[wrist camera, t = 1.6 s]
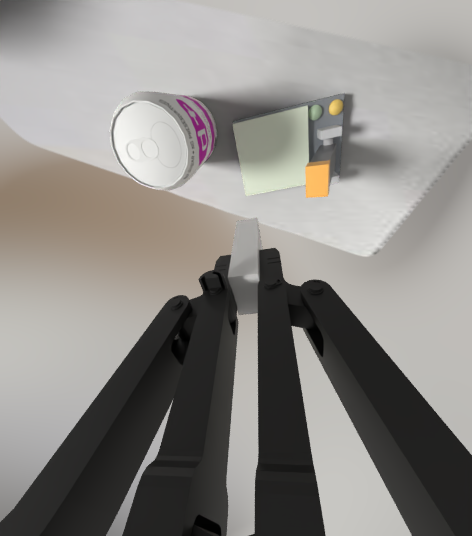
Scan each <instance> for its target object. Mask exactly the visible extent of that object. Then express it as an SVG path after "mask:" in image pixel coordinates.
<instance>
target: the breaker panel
mask: <svg viewBox="0 0 472 536" xmlns="http://www.w3.org/2000/svg"><path fill="white" fill-rule="evenodd" d="M343 110H344V94H338V95H334V96H330V97H327V98H323V99H319V100H315V101H311V102H307V103H303V104H299V105H295V106H291V107H287V108H283V109H279V110H275V111H272V112H268V113H264V114H260V115H256V116H252V117H248V118H244V119H240V120H236V121H233V124H232V125H233V131H234V136H235V141H236V147H237V152H238V157H239V163H240V168H241V173H242V179H243V184H244V189H245V195H246V196H249V195H255V194H260V193H265V192H270V191H276V190H281V189H286V188H291V187H297V186H302V185H306V175H305V166H306V165H307V163H310V161H311V159H312V158H313V156H314V155H315V153H316V151H317V150H318V148H319V146H320V145H323V140H324V139H329V138H333V143H336V162H335V170H334V173H333V176H332V180H331V183H330V185H331V184H337V183H339V178H340V161H341V144H342V127H343Z"/></svg>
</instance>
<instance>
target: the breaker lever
mask: <svg viewBox="0 0 472 536" xmlns="http://www.w3.org/2000/svg"><path fill="white" fill-rule="evenodd" d="M335 162H336V143H333V138H329V139H324V140H323V145H320V146H319V148H318V150H317V151H316V153H315V155H314V156H313V158H312V159H311V161H310V163H307V165H306V166H305V175H306V198H308V197H325V196H328V194H329V186H330V183H331V180H332V176H333V173H334V170H335Z"/></svg>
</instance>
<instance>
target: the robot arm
mask: <svg viewBox="0 0 472 536" xmlns="http://www.w3.org/2000/svg"><path fill="white" fill-rule="evenodd" d="M199 282H200V284H201V287H202V289H203V295H201V296H199V297H197V298H194V299H191V300H189V299H188V298H187V296H183V295H179V296H176V297H173V298H171V299H170V300H169V301H168V302H167V303H166V304H165V305H164V307H163V308H162V309H161V310H160V312H159V313H158V315H157V316H156V317H155V319H154V320H153V321H152V323H151V324H150V325H149V327H148V328H147V329H146V331H145V332H144V334H143V335H142V336H141V337H140V339H139V341H138V342H137V343H136V344H135V346H134V347H133V348H132V350H131V351H130V352H129V354H128V355H127V356H126V358H125V359H124V361H123V362H122V363H121V365H120V366H119V367H118V369H117V370H116V371H115V373H114V374H113V375H112V377H111V378H110V379H109V381H108V382H107V383H106V385H105V386H104V388H103V389H102V390H101V392H100V393H99V394H98V396H97V397H96V398H95V400H94V401H93V402H92V404H91V405H90V406H89V408H88V409H87V410H86V412H85V413H84V415H83V416H82V417H81V419H80V420H79V421H78V423H77V424H76V425H75V427H74V428H73V430H72V431H71V432H70V433H69V435H68V436H67V438H66V439H65V440H64V442H63V443H62V444H61V446H60V447H59V448H58V450H57V451H56V452H55V454H54V455H53V456H52V458H51V459H50V460H49V462H48V463H47V465H46V466H45V467H44V469H43V470H42V471H41V473H40V474H39V475H38V477H37V478H36V479H35V481H34V482H33V484H32V485H31V486H30V488H29V489H28V490H27V492H26V493H25V494H24V496H23V497H22V498H21V500H20V501H19V502H18V504H17V505H16V506H15V508H14V509H13V510H12V511H11V512H10V513H9V514H8V515H7V516H6V517H5V518H4V519H3V520H2V521H1V522H0V536H106V534H107V532H108V530H109V528H110V527H111V525H112V523H113V521H114V519H115V516H116V515H117V513H118V511H119V509H120V507H121V504H122V503H123V501H124V499H125V497H126V495H127V493H128V491H129V488H130V486H131V484H132V482H133V480H134V478H135V476H136V474H137V472H138V470H139V468H140V466H141V464H142V462H143V460H144V458H145V456H146V454H147V452H148V450H149V448H150V445H151V443H152V441H153V439H154V437H155V435H156V433H157V431H158V429H159V427H160V425H161V423H162V420H163V419H164V417H165V415H166V413H167V411H168V409H169V407H170V405H171V402H172V400H173V403H172V407H171V410H170V413H169V417H168V421H167V424H166V428H165V432H164V435H163V439H162V442H161V446H160V449H159V452H158V455H157V457H156V459H155V460H154V461H153V462H152V463H151V464H149V465H148V466H147V467H146V469H145V471H144V472H143V474H142V476H141V479H140V482H139V484H138V487H137V490H136V493H135V497H134V500H133V503H132V507H131V510H130V513H129V516H128V519H127V522H126V526H125V529H124V532H123V535H122V536H226V532H227V517H228V495H227V488H226V475H227V462H228V448H229V436H230V424H231V410H232V398H233V397H232V396H233V385H234V372H235V359H236V346H237V333H238V319H237V310H238V314H239V315H243V314H253V313H258V437H259V438H258V439H259V454H258V455H259V456H258V457H259V458H258V465H257V470H256V478H255V534H253V535H249V536H325V530H324V524H323V518H322V511H321V505H320V499H319V493H318V487H317V481H316V475H315V470H314V466H313V460H312V454H311V447H310V442H309V435H308V429H307V422H306V416H305V409H304V403H303V397H302V390H301V384H300V378H299V372H298V365H297V359H296V353H295V347H294V340H293V334H292V327H291V326H296V327H301V328H303V330H304V332H305V334H306V336H307V338H308V339H309V341H310V343H311V345H312V347H313V349H314V351H315V353H316V355H317V357H318V358H319V360H320V362H321V364H322V366H323V368H324V370H325V372H326V374H327V375H328V377H329V379H330V381H331V383H332V385H333V387H334V389H335V391H336V392H337V394H338V396H339V398H340V400H341V402H342V404H343V406H344V408H345V410H346V411H347V413H348V415H349V417H350V419H351V421H352V422H353V425H354V427H355V428H356V430H357V432H358V434H359V436H360V438H361V440H362V441H363V443H364V445H365V447H366V449H367V451H368V453H369V455H370V457H371V459H372V460H373V462H374V464H375V466H376V468H377V470H378V472H379V474H380V476H381V478H382V479H383V481H384V483H385V485H386V487H387V489H388V491H389V493H390V495H391V496H392V498H393V500H394V502H395V504H396V506H397V508H398V510H399V512H400V514H401V515H402V517H403V519H404V521H405V523H406V525H407V526H408V529H409V530H410V532H411V534H412V536H472V455H471V454H470V453H469V451H468V450H467V449H466V448H465V447H464V445H463V444H462V443H461V442H460V441H459V440H458V438H457V437H456V436H455V435H454V434H453V432H452V431H451V430H450V429H449V428H448V426H446V424H445V423H444V422H443V421H442V419H441V418H440V417H439V416H438V415H437V413H436V412H435V411H434V410H433V408H432V407H431V406H430V405H429V404H428V402H427V401H426V400H425V399H424V398H423V396H422V395H421V394H420V393H419V392H418V391H417V389H416V388H415V387H414V386H413V385H412V383H411V382H410V381H409V380H408V379H407V377H406V376H405V375H404V374H403V373H402V371H401V370H400V369H399V368H398V366H397V365H396V364H395V363H394V362H393V361H392V359H391V358H390V357H389V356H388V354H387V353H386V352H385V351H384V350H383V349H382V347H381V346H380V345H379V344H378V343H377V341H376V340H375V339H374V338H373V337H372V335H371V334H370V333H369V332H368V331H367V329H366V328H365V327H364V326H363V325H362V323H361V322H360V321H359V320H358V319H357V317H356V316H355V315H354V314H353V313H352V311H351V310H350V309H349V308H348V307H347V305H346V304H345V303H344V302H343V301H342V299H341V298H340V297H339V296H338V295H337V293H336V292H335V291H334V290H333V289H332V287H331V286H330V285H329V284H328V283H326V282H324V281H321V280H309V281H307V282H304V283H303V284H302V285H301V286H295V285H291V284H288V283H287V282H286V281H285V280H284V278H283V273H282V267H281V260H280V254H279V251H278V250H277V249H276V248H271V249H264V250H263V249H262V244H261V237H260V231H259V225H258V219H257V218H253V219H247V220H241V221H237V224H236V230H235V236H234V242H233V249H232V254H231V255H226V256H220V257H219V259H218V260H217V261H216V264H215V269H214V270H212V271H208V272H206V273H204V274H203V275H202V276H201V277H200V278H199ZM173 398H174V399H173Z"/></svg>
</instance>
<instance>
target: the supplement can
mask: <svg viewBox="0 0 472 536" xmlns="http://www.w3.org/2000/svg"><path fill="white" fill-rule="evenodd" d="M109 133H110V141H111V148H112V150H113V153H114V155H115V157H116V160H117V162H118V163H119V165H120V166H121V167H122V169H123V170H124V171H125V172H126V174H127V175H128V176H130V177H131V178H132V179H134V180H135V181H136V182H137V183H139V184H142V185H144V186H147V187H149V188H154V189H156V190H172V189H175V188H178V187H181V186H182V185H184V184H185V183H186V182H187V181H188V180H189V179H190V178H191V177H192V176H193V175H194V174H195V173H196V171H197V170H198V169H199V168H200V167H201V166H202V165H203V163H204V162H205V161H206V160H207V159H208V158H209V157H210V156H211V154H212V152H213V150H214V148H215V146H216V140H217V129H216V123H215V120H214V118H213V116H212V114H211V112H210V110H209V109H208V108H207V107H206V106H205V105H204V104H203V103H202V102H201V101H199V100H197V99H194V98H192V97H190V96H182V95H174V94H167V93H159V92H136V93H134V94H132V95H130V96H128V97H126V98H124V99H123V100H122V102H121V103H120V104H119V106H118V107H117V109H116V110H115V112H114V116H113V118H112V122H111V127H110V132H109Z"/></svg>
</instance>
